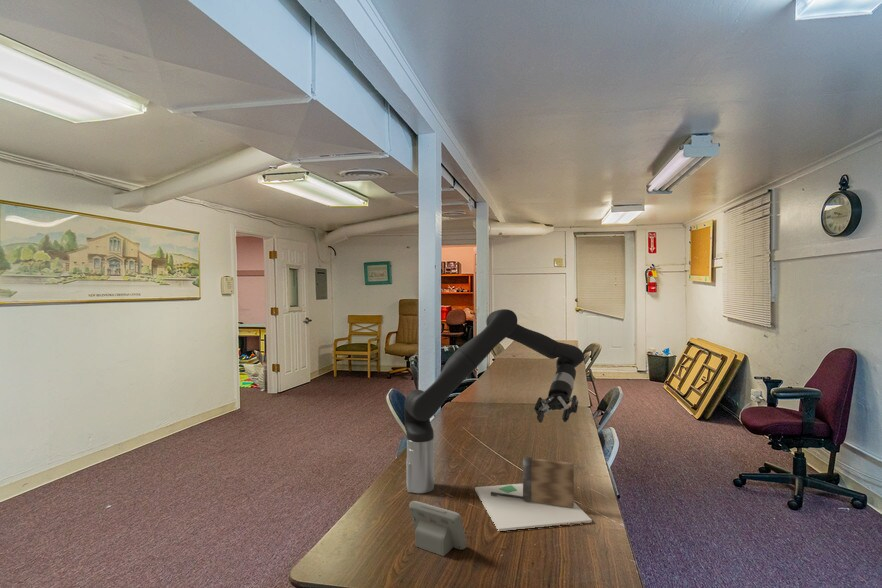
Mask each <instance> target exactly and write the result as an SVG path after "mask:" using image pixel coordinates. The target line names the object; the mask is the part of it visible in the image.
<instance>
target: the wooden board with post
mask: <svg viewBox="0 0 882 588" xmlns="http://www.w3.org/2000/svg"><path fill="white" fill-rule="evenodd" d="M574 469H575V467H574V462H566V461H560V460H559V461H558V460H553V459H552V460H550V459H545V458H544V459H543V458H534V457H530V456H523V457H522V484H523V496H516V495H510V494H503V493H496V492H491V494H492V495H499V496H505V497H512V498H518V499H523V500H524V501H534V502H541V503H548V504H554V505H561V506H568V507H574V503H575V501H574V500H575V499H574V497H575V495H574V493H575V492H574V491H575V490H574V489H575V487H574V483H575V481H574V479H575V478H574V476H575V475H574V474H575V472H574V471H575V470H574Z"/></svg>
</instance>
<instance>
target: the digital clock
mask: <svg viewBox="0 0 882 588" xmlns="http://www.w3.org/2000/svg"><path fill="white" fill-rule="evenodd" d="M408 504H409V512H410V516H411V518H412V519H411V520H412V523H413V527H414V531H415V533H414V535H415V536H414V537H415V539H414V540H415V543H414V545H415V547H416V548H418V547H419V549H422V550H425V551H428V552H430V553H433V554H435V553H436V555H438V556H442V557H445V556H446V555H447V554H448V553H449V552H450V551H451V550H453V548H454V549H458V550H461V551H462V550H465V549H466V548H467V538H466V535H465V530H464V526H463V521H462V517H461V515H460V513H459V512H456V511H453V510H449V509H445V508H442V507H440V506H435V505H431V504H428V503H424V502H422V501H418V500H412V501H410V502H409V503H408Z"/></svg>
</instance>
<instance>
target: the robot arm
mask: <svg viewBox="0 0 882 588" xmlns="http://www.w3.org/2000/svg"><path fill="white" fill-rule="evenodd" d="M485 323H486V326H485V327H484V329H483V330H481V332H479V333H478V334H476V335H475V336H474V337H472V338H471V339H469V340H468V341H467V342H465V343H463V345H461V346H459V347H458V349H457V350H456V351H454V352H453V354H452V355H451V356H450V357H449V358H448V359H447V360H446V362H445V364H444V365H443V368H442V369H441V372H440V374H439V375H438V377H437V379H436V380H435V381H434V382H433V383H432V384H431V385H430V386H429V387H428V388H426V389H425V390H421V389H414V390H412V391H409V393H407V395H406V397H405V398H404V399H405V400H404V405H403V408H404V409H403V411H404V412H403V413H404V414H403V415H404V428H405V432H406V433H405V434H406V459H405V462H406V464H405V468H406V469H405V470H406V471H405V472H406V473H405V474H406V477H405V478H406V479H405V480H406V485H405V486H406V489H407V492H408V493H414V494H427V493H429V492H431V491H434V488H435V461H434V460H435V458H434V457H435V456H434V455H435V454H434V453H435V452H434V451H435V449H434V448H435V447H434V445H435V443H434V441H435V439H434V438H435V437H434V428H433V427H432V424H431V420H430V419H431V418H432V417H433V416H434V415H435V414H436V413H437V412H438V411H439V409H440V408H441V407H442V405H443V404H444V403H445V401H446V400H447V399H448V398H449V397H450V396H451V394H452V393H453V392H454V391H455V390H457V388H458V387H460V385H462V383H463V382H464V381H465V380H466V379H467V378H468V377H469V376H470V375H471V374H472V373H473V372H474V371H475V370H476V369H477V368H478V367H479V366H480V365H481V363H482V362H483V361H484V360H485V359H486V358H487V356H488V355H490V353H491V352H492V350H494V349H495V348H496V347H497V345H499V344H500V343H501V342H502V341H504V340H505V339H508V340H509V339H510V340H512V341H514V342H517V343H519V344H522V345H524V346H526V347H527V348H529V349H531V350H533V351H535V352H536V353H538V354H540V355H542V356H543V357H545V358H548V359H550V360H555V359H556V362H555V364H556V372H555V373H554V377H553V379H552V381H551V384H550V387H549V390H548V395H547V397H546V398H542V397H538V398H537V401H536V403H535V405H534V408H533V409H534V411H535V413H536V415H537V416H536V419H537V421H538V423H539V424H541V423H543V421H544V417H545V415H546V414H547V413H550V412H552V411H555V410H562V409H563V412H562V421H563V422H564V423H567V421H568V420H569V419H570V416H571V414H572V413H573V414H576V413H577V412H578V406H579V399H578V397H577V395H576V394H575V395H572V394H573V390H574V385H575V381H576V375H577V370H576V368H577V367H578V366H579V365H581V364H582V363H583V362H584V360H585V355H584V352H583V351H582V349H580V348H579V347H577V346H575V345H572V344H568V343H564V342H560V341H557V340H555V339H554V338H551V337H549V336H548V335H546V334H543V333H541V332H538V331H535V330H532V329H529V328H527V327H524V326H522V325H520V324H518V316H517V314H516V313H515V312H514V311H513V310H510V309H505V308H504V309H503V308H502V309H497V310H495V311H492V312H490V313H489V314H488V316H487V318H486V321H485ZM571 396H572V397H571ZM570 403H571V405H570V406H569V404H570Z"/></svg>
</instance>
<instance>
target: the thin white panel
mask: <svg viewBox="0 0 882 588" xmlns="http://www.w3.org/2000/svg"><path fill="white" fill-rule="evenodd" d="M474 491H475V493H476V494H477V496H478V498H479V500H480V502H481V501H482V502H481V503H482V505H483V507H484V509H485V511H486V510H487V511H486V512H487V514H488V516H489V517H491V518H490V519H491V521H492V523H493V522H494V523H493V525H494V524H495V525H494V526H496V527H495V528H496V530H497V529H498V530H497V532H498V531H506V530H516V529H525V528H535V527H544V526H552V525H560V524H567V523H568V524H570V523H581V522H592V523H593V521H592V518H590V516H589V515H588V514H587V513H585V511H584V510H583V509H582V508H581V507H579V505H577V504H576V502H574V507H568V506H561V505H554V504H548V503H541V502H534V501H524V500H523V499H518V498H512V497H505V496H499V495H492V494H491V492H496V493H503V494H510V495H516V496H523V483H513V484H511V483H509V484H500V485H499V484H498V485H486V486H476V487H474Z"/></svg>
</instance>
